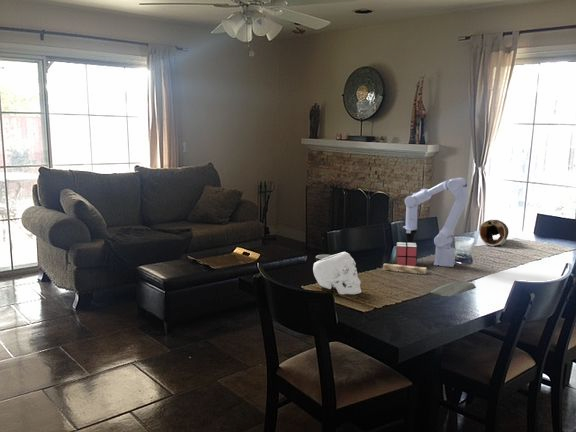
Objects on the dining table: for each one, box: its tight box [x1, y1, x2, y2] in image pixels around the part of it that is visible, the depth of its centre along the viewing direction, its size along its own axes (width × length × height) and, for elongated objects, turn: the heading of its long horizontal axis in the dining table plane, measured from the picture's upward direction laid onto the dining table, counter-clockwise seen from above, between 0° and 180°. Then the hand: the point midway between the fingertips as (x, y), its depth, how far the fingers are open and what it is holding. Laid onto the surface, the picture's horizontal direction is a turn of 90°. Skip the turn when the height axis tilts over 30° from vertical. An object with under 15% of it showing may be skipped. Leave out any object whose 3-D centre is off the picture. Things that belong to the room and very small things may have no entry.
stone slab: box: [429, 279, 476, 297], centre depth 218 cm, size 22×3×10 cm
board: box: [382, 263, 427, 275], centre depth 246 cm, size 20×3×2 cm, turn 67°
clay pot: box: [478, 219, 510, 247], centre depth 308 cm, size 15×15×25 cm
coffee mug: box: [315, 254, 333, 262], centre depth 235 cm, size 12×9×10 cm
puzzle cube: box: [395, 241, 418, 267], centre depth 260 cm, size 10×10×10 cm
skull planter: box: [312, 251, 362, 295], centre depth 218 cm, size 14×20×19 cm
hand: (410, 244), depth 269 cm, fingers closed
